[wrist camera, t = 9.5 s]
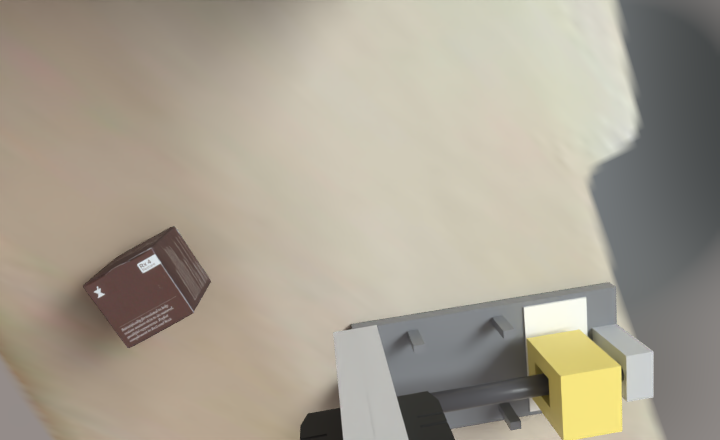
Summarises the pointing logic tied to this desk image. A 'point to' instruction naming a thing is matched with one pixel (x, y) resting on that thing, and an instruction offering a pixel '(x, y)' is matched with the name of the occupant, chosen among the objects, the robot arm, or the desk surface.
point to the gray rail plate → (503, 352)
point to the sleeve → (577, 384)
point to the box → (149, 287)
